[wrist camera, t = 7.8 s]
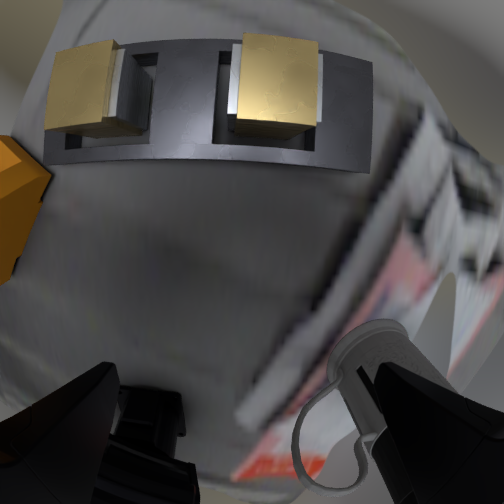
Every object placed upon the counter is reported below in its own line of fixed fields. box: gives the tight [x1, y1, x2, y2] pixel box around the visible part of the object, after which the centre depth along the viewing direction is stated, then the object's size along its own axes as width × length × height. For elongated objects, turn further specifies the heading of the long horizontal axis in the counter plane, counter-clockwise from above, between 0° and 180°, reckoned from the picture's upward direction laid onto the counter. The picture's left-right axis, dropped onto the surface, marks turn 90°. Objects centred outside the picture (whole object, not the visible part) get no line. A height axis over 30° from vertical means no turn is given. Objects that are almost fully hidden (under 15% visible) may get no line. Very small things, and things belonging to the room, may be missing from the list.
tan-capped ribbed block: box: [44, 39, 152, 139], centre depth 14 cm, size 4×4×7 cm
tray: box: [43, 39, 373, 174], centre depth 17 cm, size 8×22×2 cm, turn 86°
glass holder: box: [291, 319, 458, 504], centre depth 17 cm, size 9×14×15 cm, turn 79°
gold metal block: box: [227, 33, 323, 140], centre depth 15 cm, size 4×4×7 cm
